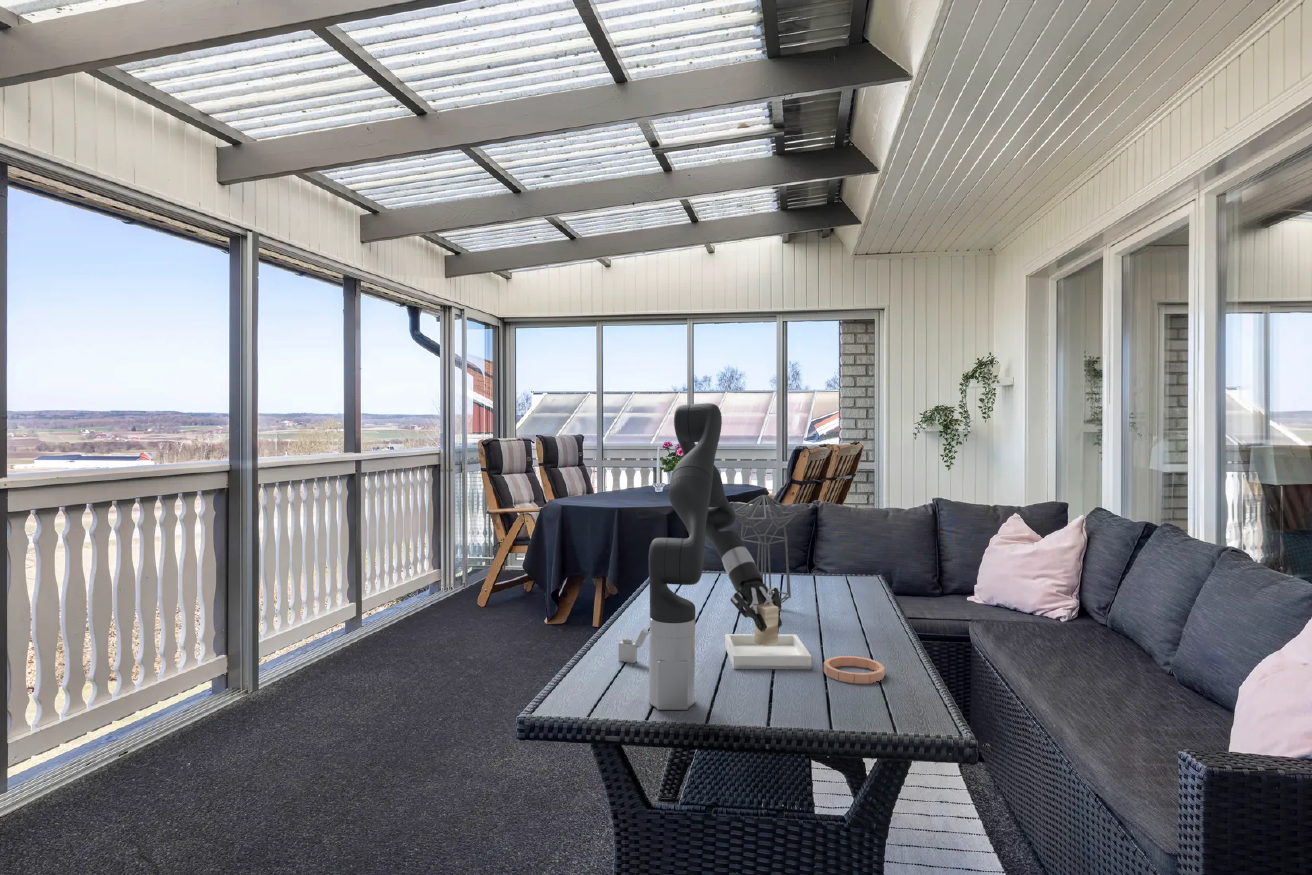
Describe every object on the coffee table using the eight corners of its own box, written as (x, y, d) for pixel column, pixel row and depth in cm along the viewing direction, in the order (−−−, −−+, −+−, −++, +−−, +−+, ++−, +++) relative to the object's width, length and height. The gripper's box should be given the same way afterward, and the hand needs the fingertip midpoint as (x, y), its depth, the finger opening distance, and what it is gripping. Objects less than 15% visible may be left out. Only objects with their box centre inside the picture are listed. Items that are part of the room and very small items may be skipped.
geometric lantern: (799, 610, 234) (801, 495, 232) (767, 621, 223) (768, 499, 221) (758, 600, 245) (759, 490, 243) (725, 610, 234) (726, 494, 232)
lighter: (618, 660, 184) (618, 627, 184) (621, 658, 185) (621, 625, 185) (646, 664, 181) (646, 630, 181) (648, 662, 183) (649, 628, 183)
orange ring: (891, 683, 170) (891, 674, 170) (832, 683, 170) (832, 674, 170) (873, 664, 183) (873, 656, 183) (818, 664, 183) (818, 655, 183)
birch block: (777, 643, 187) (778, 606, 187) (764, 646, 185) (765, 608, 185) (767, 639, 191) (767, 603, 190) (754, 642, 189) (754, 605, 188)
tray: (811, 669, 179) (811, 656, 179) (733, 668, 179) (733, 655, 179) (795, 646, 197) (796, 634, 197) (725, 645, 197) (725, 634, 197)
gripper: (725, 563, 190) (755, 624, 180) (770, 557, 197) (802, 616, 187) (712, 580, 195) (741, 640, 185) (757, 574, 202) (787, 632, 192)
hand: (771, 628), depth 186 cm, fingers closed on birch block, 4 cm apart
